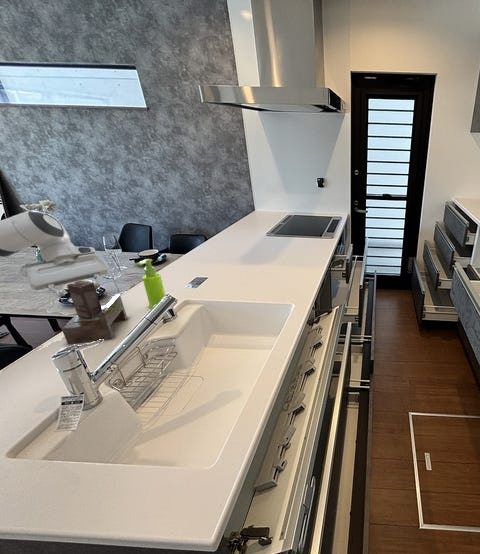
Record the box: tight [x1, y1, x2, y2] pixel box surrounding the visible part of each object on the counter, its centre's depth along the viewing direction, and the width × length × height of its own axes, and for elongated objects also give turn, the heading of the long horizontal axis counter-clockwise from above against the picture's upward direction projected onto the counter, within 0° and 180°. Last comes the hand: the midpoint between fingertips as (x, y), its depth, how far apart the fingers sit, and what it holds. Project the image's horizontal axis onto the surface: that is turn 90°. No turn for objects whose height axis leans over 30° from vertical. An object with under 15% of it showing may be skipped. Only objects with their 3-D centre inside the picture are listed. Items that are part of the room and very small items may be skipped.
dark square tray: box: [61, 294, 128, 345], centre depth 105 cm, size 12×14×10 cm
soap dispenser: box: [136, 258, 166, 309], centre depth 121 cm, size 6×7×20 cm
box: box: [66, 280, 102, 319], centre depth 102 cm, size 6×4×12 cm
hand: (80, 291), depth 103 cm, fingers open, 8 cm apart
